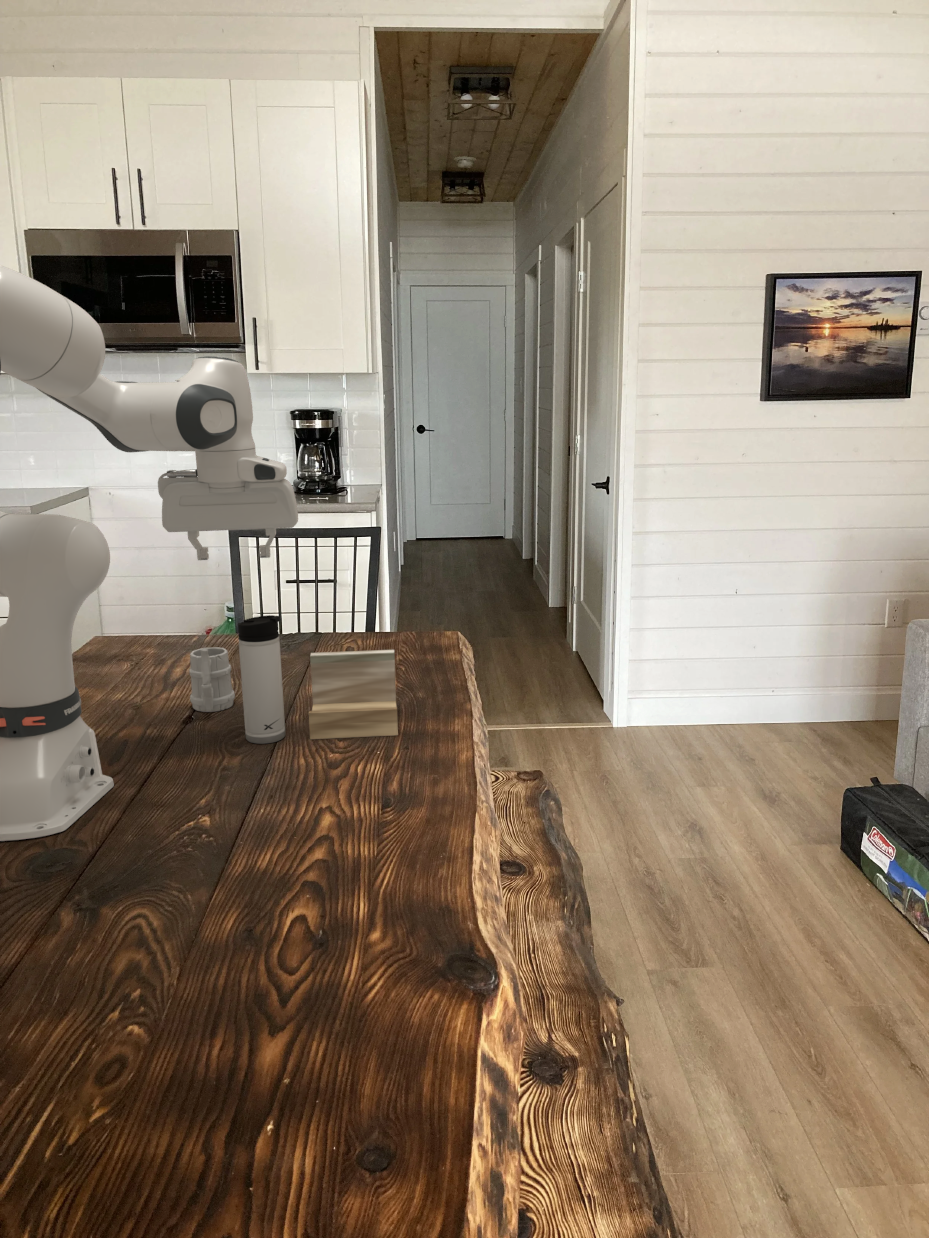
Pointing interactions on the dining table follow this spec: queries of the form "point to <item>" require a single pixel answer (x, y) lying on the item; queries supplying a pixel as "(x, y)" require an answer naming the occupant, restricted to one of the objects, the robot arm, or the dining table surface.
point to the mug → (211, 680)
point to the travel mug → (261, 679)
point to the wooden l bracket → (353, 694)
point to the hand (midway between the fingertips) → (234, 558)
